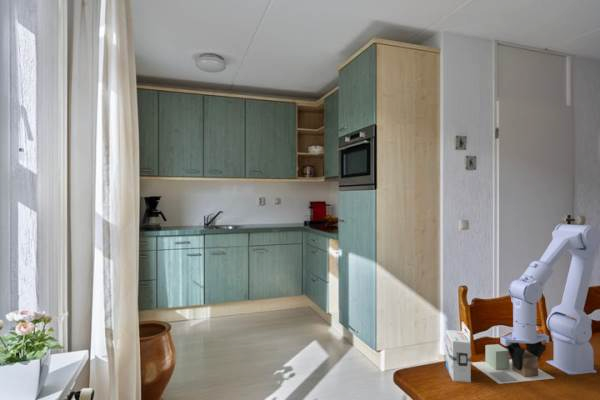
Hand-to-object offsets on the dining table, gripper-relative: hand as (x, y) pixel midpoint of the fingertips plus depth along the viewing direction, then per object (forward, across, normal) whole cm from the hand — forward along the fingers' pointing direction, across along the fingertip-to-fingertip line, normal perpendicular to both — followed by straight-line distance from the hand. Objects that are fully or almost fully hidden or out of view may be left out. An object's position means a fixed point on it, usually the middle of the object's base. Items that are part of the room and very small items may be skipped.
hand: (524, 367), depth 97 cm
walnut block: (+2, 0, 0) cm, 2 cm away
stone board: (+2, +3, -2) cm, 4 cm away
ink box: (+2, +20, -2) cm, 20 cm away
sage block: (+2, +5, -5) cm, 7 cm away
